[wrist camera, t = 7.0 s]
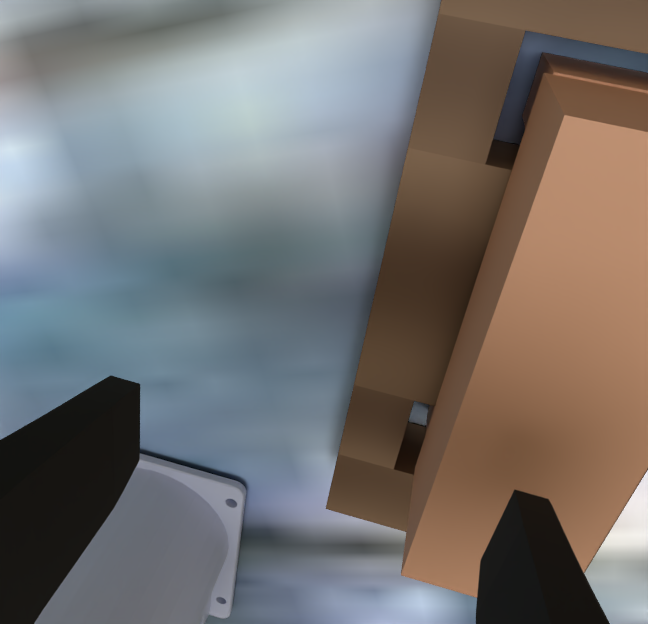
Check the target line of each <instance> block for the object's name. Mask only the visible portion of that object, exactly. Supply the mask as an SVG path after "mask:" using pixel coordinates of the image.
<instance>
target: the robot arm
mask: <svg viewBox="0 0 648 624" xmlns="http://www.w3.org/2000/svg"><path fill="white" fill-rule="evenodd" d="M232 499H233V500H232ZM245 499H246V488H245V487H244V485H242V484H241V483H240V482H238V481H235V480H232V479H228V478H225V477H221V476H218V475H214V474H211V473H207V472H204V471H200V470H197V469H193V468H190V467H186V466H183V465H179V464H176V463H172V462H169V461H165V460H162V459H158V458H155V457H151V456H148V455H144V454H141V453H140V384H139V383H135V382H131V381H128V380H124V379H121V378H117V377H114V376H109V377H108V378H106V379H104V380H102V381H101V382H99V383H97V384H95V385H94V386H92V387H90V388H88V389H87V390H85V391H83V392H82V393H80V394H78V395H77V396H75V397H73V398H72V399H70V400H68V401H67V402H65V403H63V404H62V405H60V406H58V407H57V408H55V409H53V410H52V411H50V412H48V413H47V414H45V415H43V416H42V417H40V418H38V419H36V420H35V421H33V422H31V423H29V424H28V425H26V426H24V427H22V428H21V429H19V430H17V431H15V432H14V433H12V434H10V435H8V436H7V437H5V438H3V439H1V440H0V624H205V622H206V619H207V617H208V614H209V615H212V616H216V617H219V618H227V617H229V615H230V613H231V610H232V605H233V597H234V589H235V581H236V572H237V564H238V556H239V548H240V540H241V531H242V523H243V515H244V507H245ZM476 624H610V623H609V621H608V619H607V617H606V616H605V614H604V612H603V610H602V608H601V606H600V604H599V602H598V600H597V598H596V596H595V594H594V592H593V591H592V589H591V587H590V585H589V583H588V581H587V579H586V577H585V574H584V572H583V570H582V568H581V566H580V564H579V562H578V560H577V558H576V556H575V554H574V552H573V549H572V547H571V545H570V543H569V541H568V539H567V537H566V534H565V532H564V530H563V528H562V526H561V523H560V521H559V519H558V517H557V515H556V512H555V510H554V508H553V506H552V504H551V502H550V501H549V499H547V498H543V497H540V496H536V495H533V494H529V493H526V492H522V491H519V490H515V489H514V491H513V494H512V496H511V498H510V500H509V502H508V504H507V506H506V508H505V510H504V512H503V514H502V517H501V519H500V521H499V523H498V525H497V527H496V529H495V531H494V533H493V535H492V537H491V539H490V542H489V544H488V546H487V548H486V550H485V552H484V554H483V556H482V558H481V560H480V571H479V582H478V594H477V608H476Z"/></svg>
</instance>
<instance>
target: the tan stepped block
mask: <svg viewBox="0 0 648 624" xmlns="http://www.w3.org/2000/svg"><path fill="white" fill-rule="evenodd" d="M522 117H523V121H524V125H525V132H524V135H523V138H522V141H521V144H520V147H519V150H518V153H517V156H516V159H515V162H514V165H513V168H512V171H511V175H510V178H509V181H508V184H507V187H506V190H505V193H504V196H503V199H502V202H501V205H500V208H499V211H498V214H497V217H496V221H495V224H494V227H493V230H492V233H491V236H490V239H489V242H488V245H487V248H486V251H485V254H484V257H483V260H482V263H481V267H480V270H479V273H478V276H477V279H476V282H475V285H474V288H473V291H472V294H471V297H470V300H469V303H468V306H467V309H466V313H465V316H464V319H463V322H462V325H461V328H460V331H459V334H458V337H457V340H456V343H455V346H454V349H453V352H452V355H451V359H450V362H449V365H448V368H447V371H446V374H445V377H444V380H443V383H442V386H441V389H440V392H439V395H438V398H437V401H436V405H435V406H432V405H430V406H429V409H428V415H427V424H426V432H425V438H424V441H423V444H422V447H421V451H420V454H419V457H418V460H417V463H416V466H415V472H414V479H413V487H412V494H411V502H410V510H409V517H408V525H407V532H406V540H405V547H404V555H403V563H402V570H401V575H402V576H405V577H409V578H412V579H416V580H419V581H422V582H426V583H429V584H433V585H436V586H439V587H443V588H446V589H450V590H453V591H456V592H460V593H463V594H467V595H470V596H473V597H477V594H478V582H479V571H480V560H481V558H482V556H483V554H484V552H485V550H486V548H487V546H488V544H489V542H490V539H491V537H492V535H493V533H494V531H495V529H496V527H497V525H498V523H499V521H500V519H501V517H502V514H503V512H504V510H505V508H506V506H507V504H508V502H509V500H510V498H511V496H512V494H513V491H514V489H515V490H519V491H522V492H526V493H529V494H533V495H536V496H540V497H543V498H547V499H549V501H550V502H551V504H552V506H553V508H554V510H555V512H556V515H557V517H558V519H559V521H560V523H561V526H562V528H563V530H564V532H565V534H566V537H567V539H568V541H569V543H570V545H571V547H572V549H573V552H574V554H575V556H576V558H577V560H578V562H579V564H580V566H581V568H582V570H583V572H584V571H585V569H586V568H587V566H588V564H589V563H590V561H591V560H592V558H593V556H594V555H595V553H596V551H597V550H598V548H599V547H600V545H601V543H602V542H603V540H604V538H605V537H606V535H607V533H608V532H609V530H610V529H611V527H612V525H613V524H614V522H615V520H616V519H617V517H618V515H619V514H620V512H621V511H622V509H623V507H624V506H625V504H626V502H627V501H628V499H629V498H630V496H631V494H632V493H633V491H634V489H635V488H636V486H637V484H638V483H639V481H640V480H641V478H642V476H643V475H644V473H645V471H646V470H647V468H648V73H646V72H641V71H635V70H630V69H625V68H620V67H615V66H610V65H605V64H600V63H595V62H589V61H584V60H579V59H574V58H569V57H564V56H559V55H554V54H549V53H543V52H542V56H541V59H540V62H539V65H538V68H537V71H536V74H535V77H534V81H533V84H532V87H531V90H530V93H529V96H528V99H527V102H526V106H525V109H524V112H523V115H522Z"/></svg>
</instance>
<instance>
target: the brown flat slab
mask: <svg viewBox="0 0 648 624" xmlns="http://www.w3.org/2000/svg"><path fill="white" fill-rule="evenodd" d="M525 30H526V31H532V32H537V33H542V34H547V35H552V36H558V37H563V38H568V39H573V40H578V41H584V42H589V43H594V44H599V45H604V46H610V47H615V48H620V49H625V50H630V51H636V52H641V53H646V54H648V0H441V5H440V9H439V14H438V18H437V22H436V27H435V31H434V36H433V40H432V44H431V49H430V53H429V57H428V62H427V66H426V71H425V75H424V79H423V84H422V88H421V93H420V97H419V101H418V106H417V110H416V115H415V119H414V123H413V128H412V132H411V136H410V141H409V145H408V150H407V154H406V158H405V163H404V167H403V172H402V176H401V180H400V185H399V189H398V194H397V198H396V202H395V207H394V211H393V216H392V220H391V224H390V229H389V233H388V237H387V242H386V246H385V251H384V255H383V259H382V264H381V268H380V273H379V277H378V281H377V286H376V290H375V295H374V299H373V303H372V308H371V312H370V316H369V321H368V325H367V330H366V334H365V338H364V343H363V347H362V352H361V356H360V360H359V365H358V369H357V374H356V378H355V382H354V387H353V391H352V396H351V400H350V404H349V409H348V413H347V417H346V422H345V426H344V431H343V435H342V439H341V444H340V448H339V453H338V457H337V461H336V466H335V470H334V475H333V479H332V483H331V488H330V492H329V496H328V501H327V505H326V509H328V510H332V511H335V512H339V513H342V514H346V515H349V516H353V517H356V518H360V519H363V520H367V521H370V522H374V523H377V524H381V525H384V526H388V527H391V528H395V529H398V530H402V531H405V532H407V525H408V517H409V510H410V502H411V494H412V487H413V479H414V472H415V466H416V463H417V460H418V457H419V454H420V451H421V447H422V444H423V441H424V438H425V432H426V427H423V426H420V425H416V424H412V423H408V420H409V416H410V413H411V410H412V406H413V403H414V401H417V402H421V403H425V404H429V405H432V406H435V405H436V401H437V398H438V395H439V392H440V389H441V386H442V383H443V380H444V377H445V374H446V371H447V368H448V365H449V362H450V359H451V355H452V352H453V349H454V346H455V343H456V340H457V337H458V334H459V331H460V328H461V325H462V322H463V319H464V316H465V313H466V309H467V306H468V303H469V300H470V297H471V294H472V291H473V288H474V285H475V282H476V279H477V276H478V273H479V270H480V267H481V263H482V260H483V257H484V254H485V251H486V248H487V245H488V242H489V239H490V236H491V233H492V230H493V227H494V224H495V221H496V217H497V214H498V211H499V208H500V205H501V202H502V199H503V196H504V193H505V190H506V187H507V184H508V181H509V178H510V175H511V171H512V168H513V165H514V162H515V159H516V156H517V153H518V150H519V147H520V145H516V144H511V143H507V142H502V141H497V140H493V137H494V134H495V130H496V127H497V124H498V120H499V117H500V114H501V110H502V107H503V104H504V100H505V97H506V94H507V90H508V87H509V84H510V80H511V77H512V74H513V70H514V67H515V64H516V60H517V57H518V54H519V50H520V47H521V44H522V40H523V37H524V34H525ZM647 470H648V468H647ZM647 470H646V471H645V473H646V472H647ZM645 473H644V475H645ZM644 475H643V476H642V478H643V477H644ZM642 478H641V480H642ZM641 480H640V481H641ZM640 481H639V483H640ZM639 483H638V484H637V486H638V485H639ZM637 486H636V488H637ZM636 488H635V489H634V491H635V490H636ZM634 491H633V493H634ZM633 493H632V494H633ZM632 494H631V496H632ZM631 496H630V498H631ZM630 498H629V499H630ZM629 499H628V501H629ZM628 501H627V502H626V504H627V503H628ZM626 504H625V506H626ZM625 506H624V507H623V509H624V508H625ZM623 509H622V511H623ZM622 511H621V512H622ZM621 512H620V514H621ZM620 514H619V515H618V517H619V516H620ZM618 517H617V519H618ZM617 519H616V520H615V522H616V521H617ZM615 522H614V524H615ZM614 524H613V525H614ZM613 525H612V527H613ZM612 527H611V529H612ZM611 529H610V530H611ZM610 530H609V532H610ZM609 532H608V533H607V535H608V534H609ZM607 535H606V537H607ZM606 537H605V538H606ZM605 538H604V540H605ZM604 540H603V542H604ZM603 542H602V543H603ZM602 543H601V545H602ZM601 545H600V547H601ZM600 547H599V548H600ZM599 548H598V550H599ZM598 550H597V551H598ZM597 551H596V553H597ZM596 553H595V555H596ZM595 555H594V556H595ZM594 556H593V558H594ZM593 558H592V560H593ZM592 560H591V561H592ZM591 561H590V563H591ZM590 563H589V564H590ZM589 564H588V566H589ZM588 566H587V568H588ZM587 568H586V569H587ZM586 569H585V571H586ZM585 571H584V573H585Z"/></svg>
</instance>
